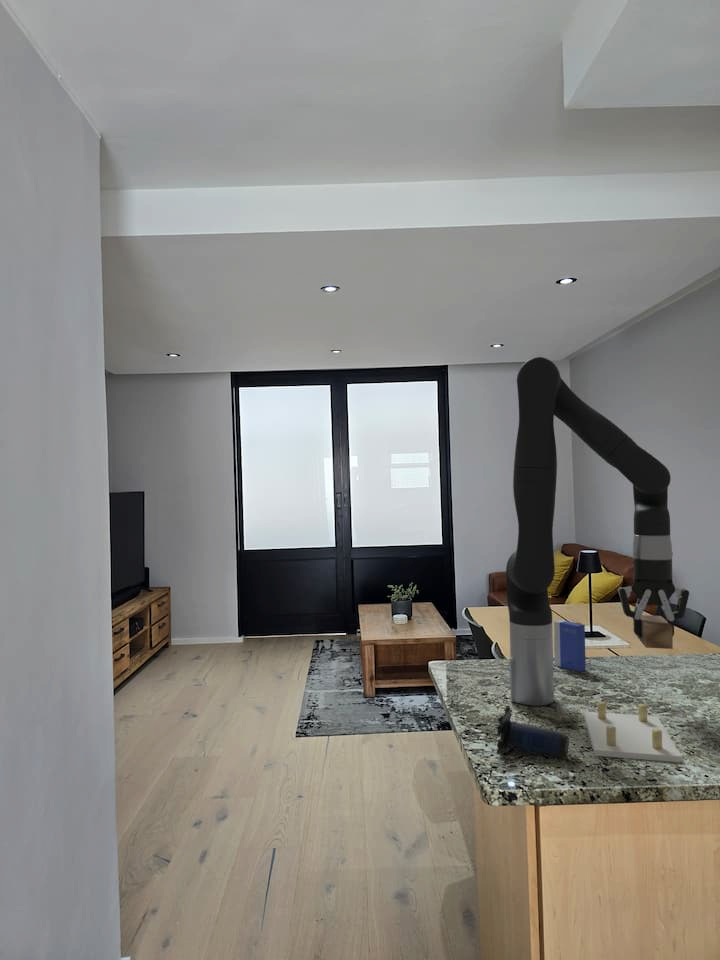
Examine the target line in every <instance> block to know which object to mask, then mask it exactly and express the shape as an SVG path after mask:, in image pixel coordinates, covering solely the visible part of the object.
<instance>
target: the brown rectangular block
mask: <svg viewBox="0 0 720 960" xmlns="http://www.w3.org/2000/svg"><path fill="white" fill-rule="evenodd" d="M665 619H666V618H664V616H661V615H648V614H647V615H645V614H642V616H641V620H642V638H638V640H639V641H640V642H641V644H642V645H643V647H645V648H647V649H663V650H664V649H667V650H669V649H670V650H673V648H674V647H673V646H674V645H673V642H674V640H673V637H674V635H672V626H671V625H670V624H669V623H668V622H667V621H666V620H665Z"/></svg>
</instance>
